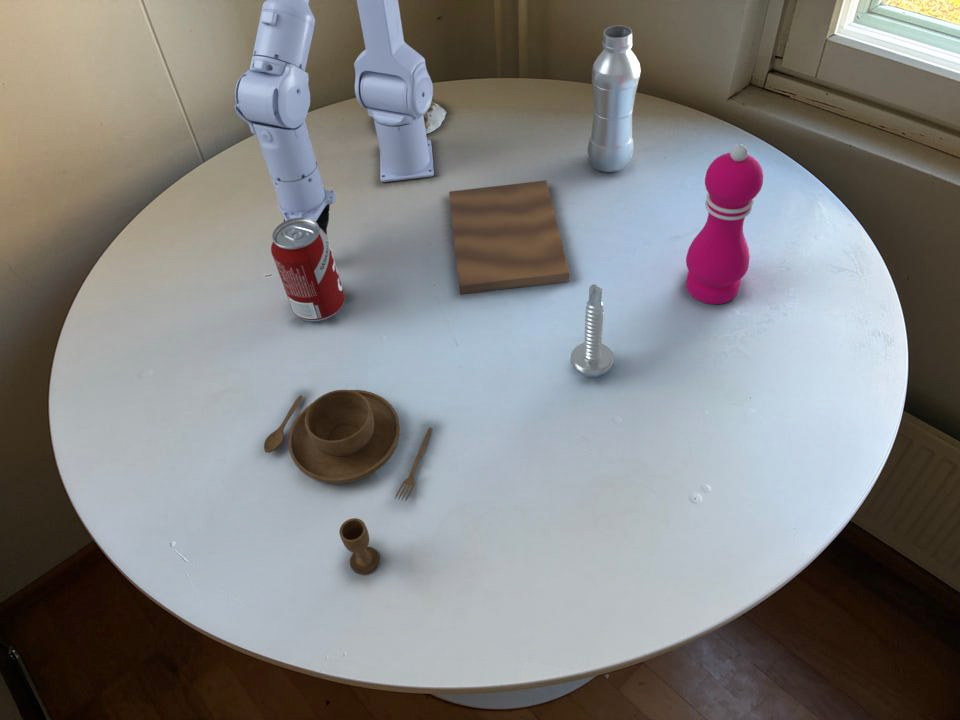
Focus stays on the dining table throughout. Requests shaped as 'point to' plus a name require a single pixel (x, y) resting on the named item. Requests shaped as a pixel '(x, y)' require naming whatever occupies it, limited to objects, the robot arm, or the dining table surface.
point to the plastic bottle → (613, 101)
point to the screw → (593, 340)
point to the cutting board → (506, 238)
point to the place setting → (346, 451)
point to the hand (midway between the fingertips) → (319, 254)
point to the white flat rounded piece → (433, 117)
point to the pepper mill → (724, 228)
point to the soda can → (307, 269)
